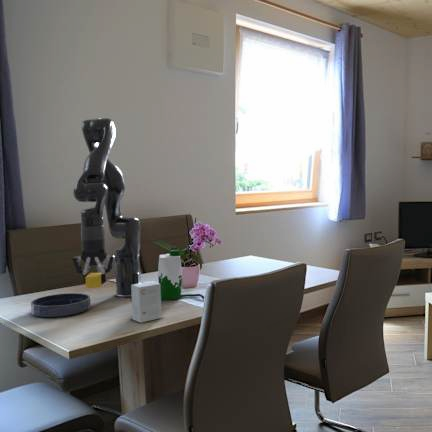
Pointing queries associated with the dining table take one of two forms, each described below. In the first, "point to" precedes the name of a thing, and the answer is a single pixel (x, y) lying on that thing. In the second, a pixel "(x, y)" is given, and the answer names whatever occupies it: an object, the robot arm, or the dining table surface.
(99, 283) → the yellow block
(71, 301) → the bowl
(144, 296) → the small box
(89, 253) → the robot arm
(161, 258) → the milk carton
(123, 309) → the dining table surface
